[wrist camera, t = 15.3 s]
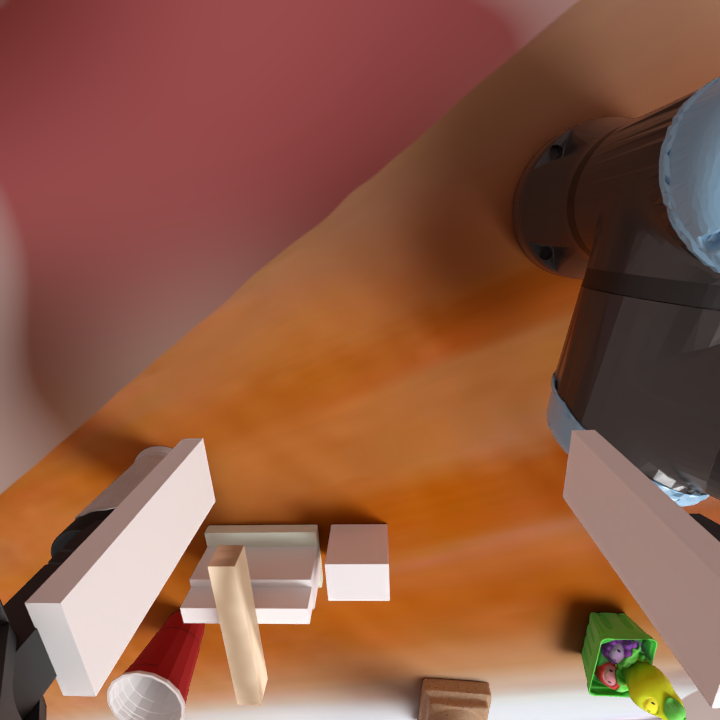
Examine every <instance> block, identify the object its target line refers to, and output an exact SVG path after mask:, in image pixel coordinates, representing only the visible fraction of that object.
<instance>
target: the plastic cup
mask: <svg viewBox="0 0 720 720" xmlns="http://www.w3.org/2000/svg"><path fill="white" fill-rule="evenodd" d="M203 633H204V623H184V622H183V618H182V614H181V610H180V611H176V612H175V613H173V614H172V615H171V617H169V618H168V620H167V621H166V622H165V624H164V625H163V626H162V628H161V629H160V631H158V632H157V633H156V635H155V636H154V637H153V639H152V640H151V641H150V642H149V644H148V645H147V646H146V648H145V649H144V650H143V651H142V653H141V654H140V655H139V657H138V658H137V659H136V660H135V662H134V663H133V664H132V665H131V666H130V667H129V668H128V669H127V670H126V671H125V672H124V673H123V674H122V675H120V676H119V677H117V678H116V679H114V680H113V681H112V683H111V685H110V687H109V689H108V691H107V699H108V705H109V707H110V708H111V710H112V712H113V714H114V715H115V716H116V717H117V718H118V719H119V720H183V718H184V716H185V703H186V700H187V695H188V691H189V686H190V682H191V678H192V675H193V671H194V668H195V664H196V661H197V657H198V653H199V650H200V648H199V647H200V644H201V640H202V637H203Z"/></svg>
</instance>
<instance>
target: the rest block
mask: <svg viewBox="0 0 720 720" xmlns="http://www.w3.org/2000/svg"><path fill="white" fill-rule="evenodd" d="M325 571H326V581H327V591H328V601H390V588H389V556H388V527H387V524H331V530H330V536H329V542H328V548H327V554H326V560H325Z"/></svg>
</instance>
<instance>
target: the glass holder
mask: <svg viewBox="0 0 720 720" xmlns="http://www.w3.org/2000/svg"><path fill="white" fill-rule="evenodd" d="M171 451H172V448H169V447H165V446H153V447H149V448H147V449H144V450H143V451H142V452H140V453H139V454H138V456H137V457H136V459H135V461H134V463H133V464H132V465H131V466H130V467H129V468H128V469H127V470H126V471H125V472H124V473H123V474H122V475H121V476H119V477H118V478H117V479H116V480H115V481H114V482H113V483H112V484H111V485H110V486H109V487H108V488H107V489H106V490H104V491H103V492H102V493H101V494H100V495H99V496H98V497H97V498H96V499H95V500H94V501H93V502H92V503H90V504H89V505H88V506H87V507H86V508H85V509H84V510H83V511H82V512H81V513H80V514H79V515H78V516H77V517H76V518H75V521H74V522H73V523H72V524H70V525H69V526H68V527H67V528H66V529H65V530H64V531H63V532H62V533H61V534H60V535H59V536H58V537H57V538H56V539H55V540H54V542H53V544H52V547H51V556H52V558H53V557H54V556H55V555H56V554H57V553H58V552H61V550H62V548H63V547H64V546H65V545H66V544H67V543H68V542H69V541H70V540H71V539H72V538H73V537H74V536H75V535H76V534H77V533H78V532H80V531H82V530H83V529H85V528H86V527H88V526H89V525H91V524H92V523H94V522H95V521H97V520H105V519H106V518H107V517H108V516H109V515H110V514H111V513H112V512H113V511H114V510H115V509H116V508H117V507H118V506H119V505H120V503H121V502H122V501H123V500H124V499H125V498H126V497H127V496H128V495H129V494H130V493H131V492H132V491H133V490H134V489H135V488H136V487H137V486H138V485H139V484H140V483H141V482H142V481H143V480H144V479H145V478H146V476H147V475H148V474H149V473H150V472H151V471H152V470H153V469H154V468H155V467H156V466H157V465H158V464H159V463H160V462H161V461H162V460H163V459H164V458H165V457H166V456H167V455H168V454H169V453H170V452H171ZM158 595H159V594H158Z"/></svg>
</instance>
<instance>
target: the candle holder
mask: <svg viewBox="0 0 720 720" xmlns="http://www.w3.org/2000/svg"><path fill="white" fill-rule="evenodd" d="M490 704H491V692H490V688H489V684H488V683H486V682H478V681H464V680H451V679H437V678H424V679H423V682H422V689H421V697H420V705H419V713H418V720H487V718H488V713H489V708H490Z"/></svg>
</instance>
